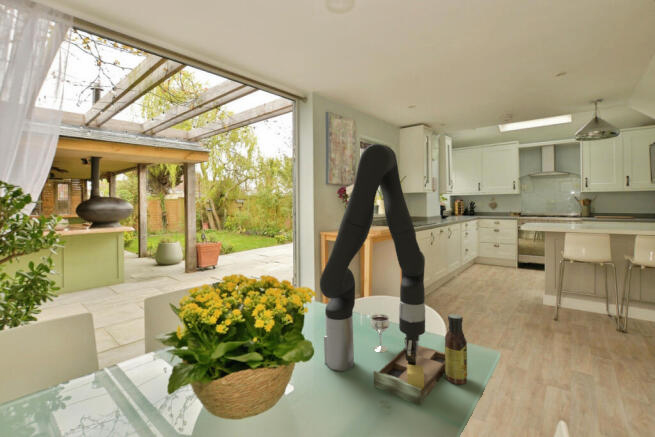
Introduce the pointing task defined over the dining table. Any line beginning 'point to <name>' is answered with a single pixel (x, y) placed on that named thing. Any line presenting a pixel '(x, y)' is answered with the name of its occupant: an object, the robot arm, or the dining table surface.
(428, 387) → the trap deck
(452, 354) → the sauce bottle
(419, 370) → the mustard block
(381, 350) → the wineglass
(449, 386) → the dining table surface
